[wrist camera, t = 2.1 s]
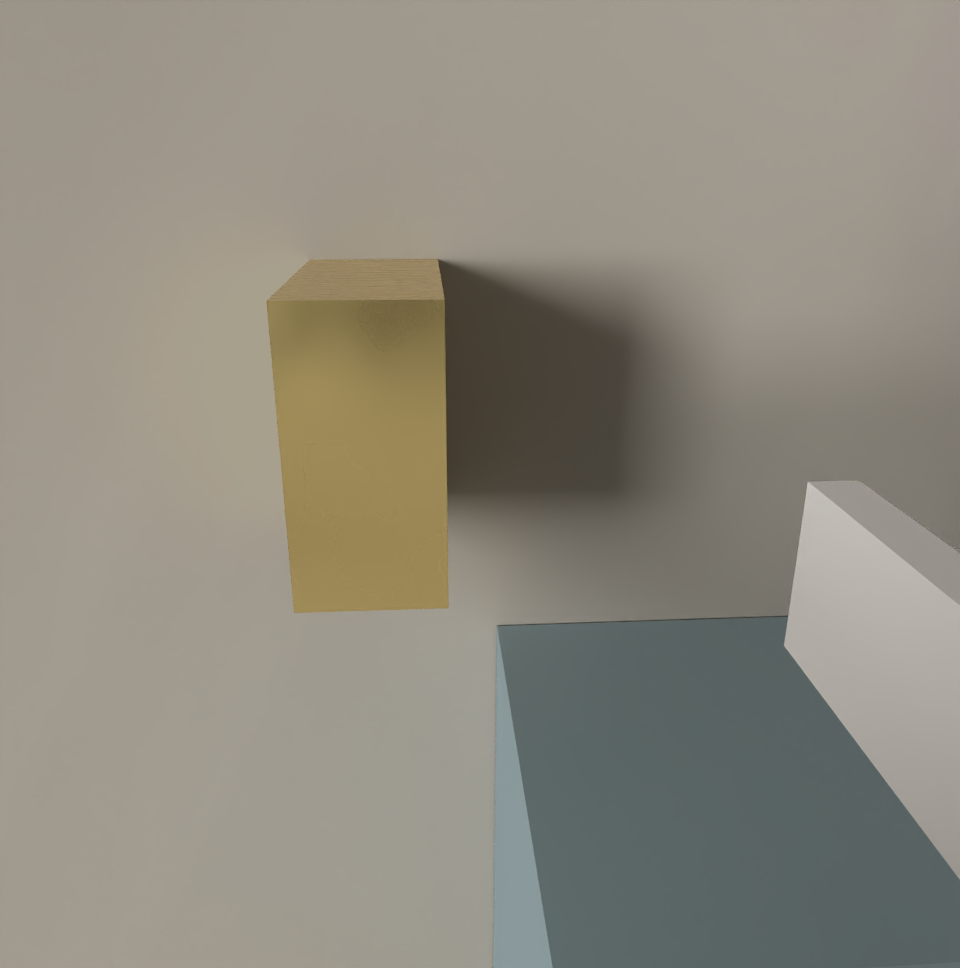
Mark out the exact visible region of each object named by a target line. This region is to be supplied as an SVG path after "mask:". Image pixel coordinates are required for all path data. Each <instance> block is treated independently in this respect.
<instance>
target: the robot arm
mask: <svg viewBox="0 0 960 968" xmlns="http://www.w3.org/2000/svg"><path fill="white" fill-rule="evenodd" d="M784 646H785V648H786V649H787V650H788V652H789V653H790V654H791V656H792V657H793V658H794V660H795V661H796V662H797V664H798V665H799V666H800V668H801V669H802V670H803V672H804V673H805V674H806V676H807V677H808V678H809V680H810V681H811V682H812V684H813V685H814V686H815V688H816V689H817V690H818V692H819V693H820V694H821V696H822V697H823V698H824V700H825V701H826V702H827V704H828V705H829V706H830V708H831V709H832V710H833V712H834V713H835V714H836V716H837V717H838V718H839V720H840V721H841V722H842V724H843V725H844V726H845V728H846V729H847V730H848V732H849V733H850V734H851V736H852V737H853V738H854V740H855V741H856V742H857V744H858V745H859V746H860V748H861V749H862V750H863V752H864V753H865V754H866V756H867V757H868V758H869V760H870V761H871V762H872V764H873V765H874V766H875V768H876V769H877V770H878V772H879V773H880V774H881V776H882V777H883V778H884V780H885V781H886V782H887V784H888V785H889V786H890V788H891V789H892V790H893V792H894V793H895V794H896V796H897V797H898V798H899V800H900V801H901V802H902V804H903V805H904V806H905V807H906V809H907V810H908V811H909V813H910V814H911V815H912V817H913V818H914V819H915V821H916V822H917V823H918V825H919V826H920V827H921V829H922V830H923V831H924V833H925V834H926V835H927V837H928V838H929V839H930V841H931V842H932V843H933V845H934V846H935V847H936V849H937V850H938V851H939V853H940V854H941V855H942V857H943V858H944V859H945V861H946V862H947V863H948V865H949V866H950V867H951V869H952V870H953V871H954V873H955V874H956V875H957V877H958V878H959V879H960V553H959V552H958V551H956V550H955V549H953V548H952V547H951V546H949V545H948V544H946V543H945V542H944V541H942V540H941V539H939V538H938V537H937V536H935V535H934V534H933V533H931V532H930V531H928V530H927V529H926V528H924V527H923V526H921V525H920V524H919V523H917V522H916V521H914V520H913V519H912V518H910V517H909V516H908V515H906V514H905V513H903V512H902V511H901V510H899V509H898V508H896V507H895V506H894V505H892V504H891V503H889V502H888V501H887V500H885V499H884V498H882V497H881V496H880V495H878V494H877V493H876V492H874V491H873V490H871V489H870V488H869V487H867V486H866V485H864V484H863V483H862V482H860V481H813V482H808V485H807V492H806V499H805V505H804V512H803V519H802V526H801V533H800V540H799V546H798V553H797V560H796V567H795V574H794V580H793V587H792V594H791V601H790V608H789V615H788V621H787V628H786V635H785V642H784Z"/></svg>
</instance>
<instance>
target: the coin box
mask: <svg viewBox="0 0 960 968" xmlns="http://www.w3.org/2000/svg"><path fill="white" fill-rule="evenodd" d="M787 621H788V616H786V617H755V618H725V619H694V620H663V621H633V622H602V623H571V624H540V625H510V626H497V667H496V756H495V846H494V935H493V968H960V879H959V878H958V877H957V875H956V874H955V873H954V871H953V870H952V869H951V867H950V866H949V865H948V863H947V862H946V861H945V859H944V858H943V857H942V855H941V854H940V853H939V851H938V850H937V849H936V847H935V846H934V845H933V843H932V842H931V841H930V839H929V838H928V837H927V835H926V834H925V833H924V831H923V830H922V829H921V827H920V826H919V825H918V823H917V822H916V821H915V819H914V818H913V817H912V815H911V814H910V813H909V811H908V810H907V809H906V807H905V806H904V805H903V804H902V802H901V801H900V800H899V798H898V797H897V796H896V794H895V793H894V792H893V790H892V789H891V788H890V786H889V785H888V784H887V782H886V781H885V780H884V778H883V777H882V776H881V774H880V773H879V772H878V770H877V769H876V768H875V766H874V765H873V764H872V762H871V761H870V760H869V758H868V757H867V756H866V754H865V753H864V752H863V750H862V749H861V748H860V746H859V745H858V744H857V742H856V741H855V740H854V738H853V737H852V736H851V734H850V733H849V732H848V730H847V729H846V728H845V726H844V725H843V724H842V722H841V721H840V720H839V718H838V717H837V716H836V714H835V713H834V712H833V710H832V709H831V708H830V706H829V705H828V704H827V702H826V701H825V700H824V698H823V697H822V696H821V694H820V693H819V692H818V690H817V689H816V688H815V686H814V685H813V684H812V682H811V681H810V680H809V678H808V677H807V676H806V674H805V673H804V672H803V670H802V669H801V668H800V666H799V665H798V664H797V662H796V661H795V660H794V658H793V657H792V656H791V654H790V653H789V652H788V650H787V649H786V648H785V646H784V642H785V635H786V628H787Z"/></svg>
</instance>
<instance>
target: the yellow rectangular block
mask: <svg viewBox="0 0 960 968" xmlns="http://www.w3.org/2000/svg"><path fill="white" fill-rule="evenodd" d="M267 311H268V322H269V334H270V345H271V356H272V368H273V379H274V390H275V402H276V413H277V424H278V436H279V447H280V458H281V470H282V481H283V492H284V504H285V515H286V526H287V538H288V549H289V560H290V572H291V583H292V594H293V606H294V613H304V612H337V611H369V610H402V609H434V608H448V525H447V443H446V361H445V298H444V292H443V287H442V281H441V275H440V269H439V264H438V259H392V260H309V261H308V262H307V263H306V264H305V265H304V266H303V267H302V268H301V269H299V270H298V271H297V272H296V273H295V274H294V275H293V276H292V277H291V278H290V279H289V280H288V281H287V282H286V283H285V284H284V285H283V286H282V287H281V288H280V289H279V290H277V291H276V292H275V293H274V294H273V295H272V296H271V297H270V298H269V299H268V300H267Z"/></svg>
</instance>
